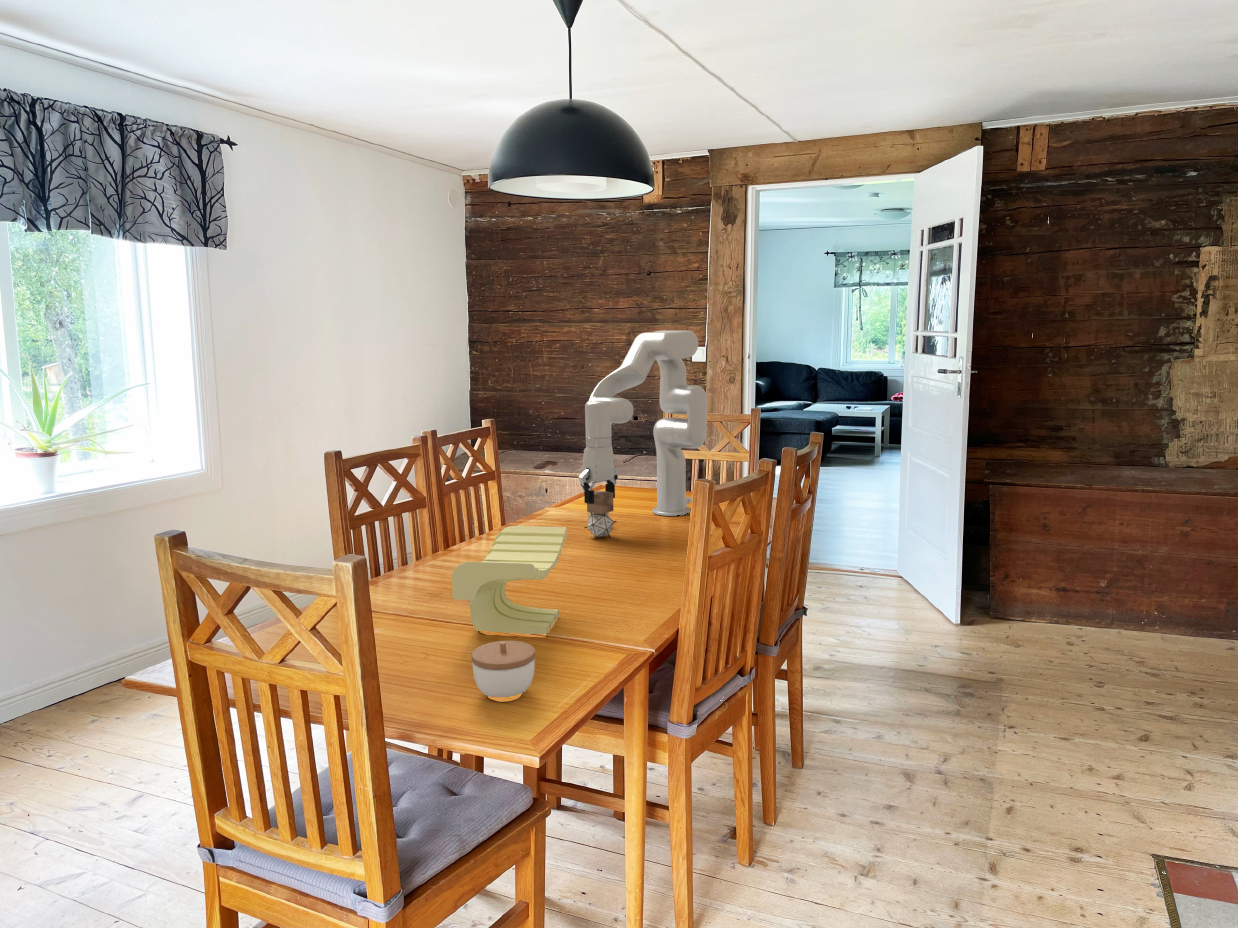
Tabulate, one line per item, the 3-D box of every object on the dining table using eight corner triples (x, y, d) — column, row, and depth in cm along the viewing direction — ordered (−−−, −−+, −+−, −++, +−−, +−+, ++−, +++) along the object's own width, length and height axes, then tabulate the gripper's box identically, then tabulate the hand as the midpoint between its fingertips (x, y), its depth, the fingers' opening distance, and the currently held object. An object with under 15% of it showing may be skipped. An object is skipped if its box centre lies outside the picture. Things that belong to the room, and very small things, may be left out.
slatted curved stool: (500, 601, 197) (497, 525, 194) (568, 603, 195) (566, 526, 192) (455, 649, 168) (450, 561, 165) (534, 653, 166) (531, 563, 163)
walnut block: (599, 508, 258) (598, 490, 257) (613, 510, 254) (613, 492, 254) (587, 511, 253) (586, 493, 253) (601, 514, 250) (601, 495, 249)
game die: (606, 550, 255) (615, 528, 248) (578, 541, 254) (587, 518, 248) (612, 530, 261) (621, 508, 255) (585, 520, 261) (594, 498, 255)
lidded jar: (461, 703, 144) (458, 649, 143) (492, 678, 154) (490, 628, 153) (518, 712, 140) (516, 657, 139) (547, 686, 150) (545, 635, 149)
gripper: (607, 438, 260) (608, 494, 262) (569, 445, 246) (570, 504, 249) (627, 440, 255) (627, 497, 258) (589, 447, 242) (590, 507, 244)
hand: (599, 500), depth 253 cm, fingers open, 9 cm apart
